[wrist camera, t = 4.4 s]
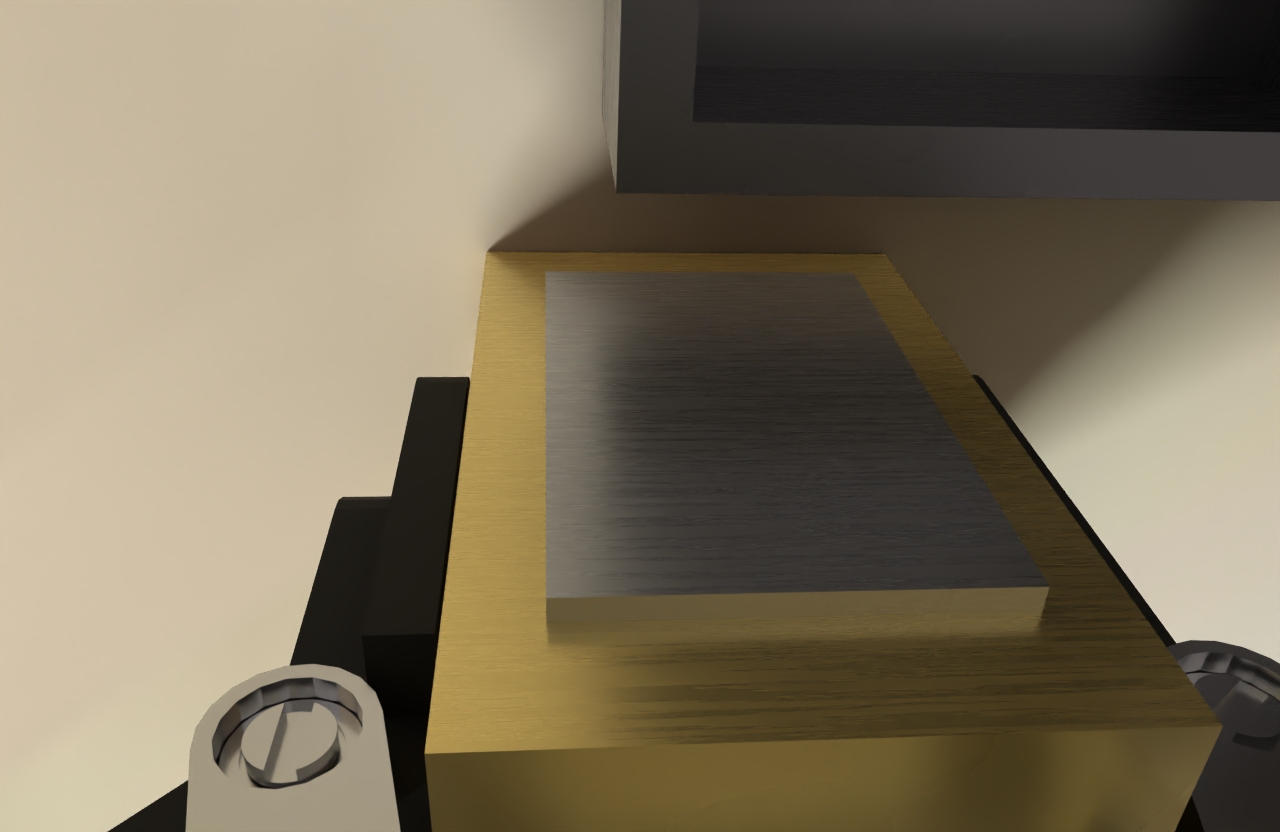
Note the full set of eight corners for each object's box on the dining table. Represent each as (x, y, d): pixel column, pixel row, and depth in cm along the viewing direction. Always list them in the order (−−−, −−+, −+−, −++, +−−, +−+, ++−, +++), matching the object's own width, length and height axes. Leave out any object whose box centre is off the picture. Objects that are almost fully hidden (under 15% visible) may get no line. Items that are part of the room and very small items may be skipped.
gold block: (485, 234, 11) (422, 726, 6) (886, 237, 12) (1234, 700, 6) (499, 581, 14) (466, 1177, 8) (830, 574, 14) (1032, 1138, 8)
